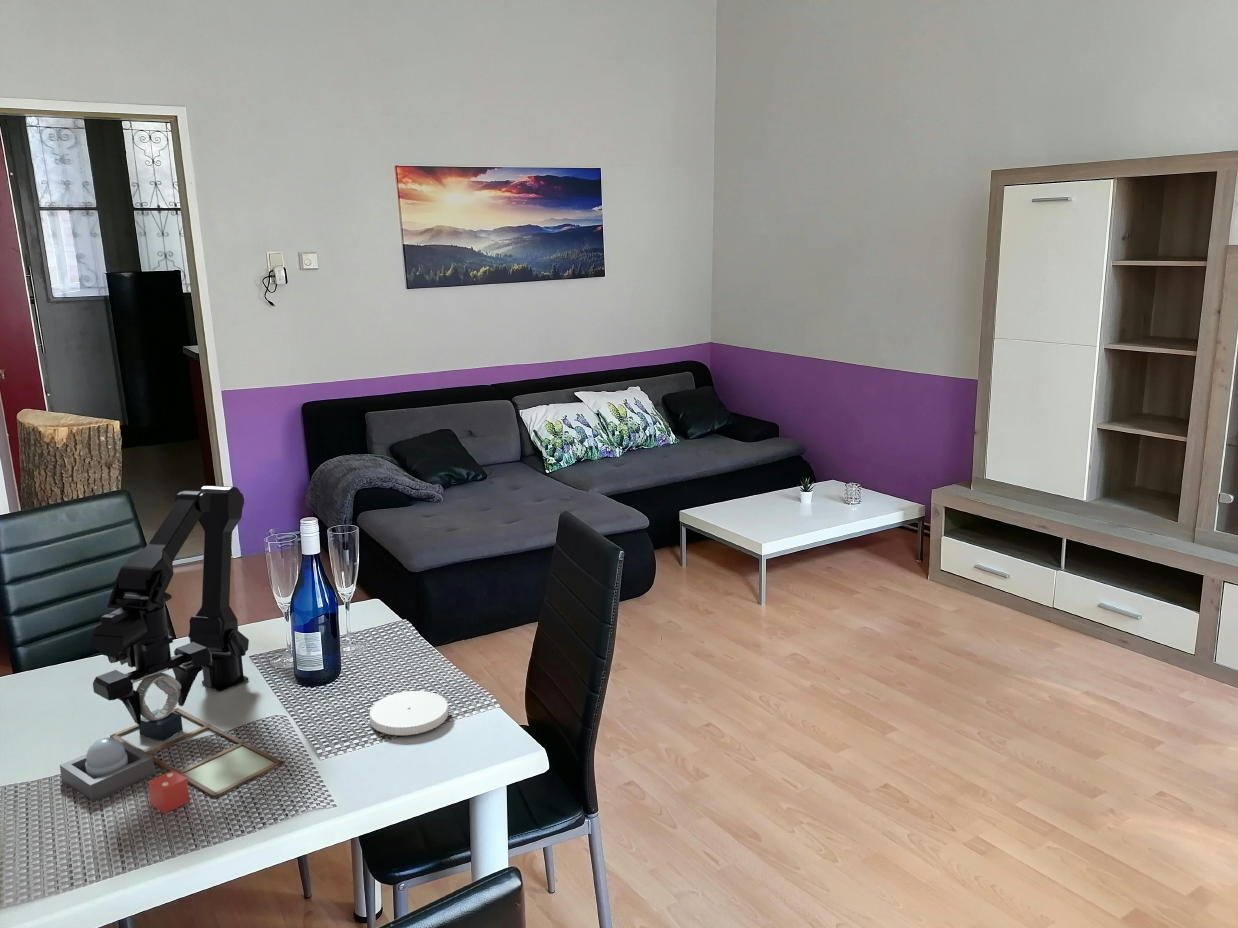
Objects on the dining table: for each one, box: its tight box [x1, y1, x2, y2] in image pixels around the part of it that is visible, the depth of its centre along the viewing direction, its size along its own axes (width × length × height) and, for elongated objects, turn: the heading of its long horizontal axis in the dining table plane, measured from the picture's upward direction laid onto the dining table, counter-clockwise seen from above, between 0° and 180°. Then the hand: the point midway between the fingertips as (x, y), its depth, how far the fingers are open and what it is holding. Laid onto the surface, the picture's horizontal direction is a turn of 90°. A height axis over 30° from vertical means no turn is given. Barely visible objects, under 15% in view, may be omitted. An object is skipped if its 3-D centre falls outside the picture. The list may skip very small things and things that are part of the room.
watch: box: [135, 672, 184, 742], centre depth 169 cm, size 6×8×11 cm
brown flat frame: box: [109, 707, 284, 799], centre depth 164 cm, size 13×32×1 cm, turn 54°
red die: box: [147, 771, 191, 814], centre depth 148 cm, size 4×4×4 cm
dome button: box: [85, 737, 128, 779], centre depth 155 cm, size 6×6×6 cm
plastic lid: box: [369, 690, 449, 736], centre depth 174 cm, size 14×14×2 cm
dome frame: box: [59, 739, 156, 803], centre depth 155 cm, size 10×10×3 cm
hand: (159, 714), depth 169 cm, fingers closed on watch, 8 cm apart
